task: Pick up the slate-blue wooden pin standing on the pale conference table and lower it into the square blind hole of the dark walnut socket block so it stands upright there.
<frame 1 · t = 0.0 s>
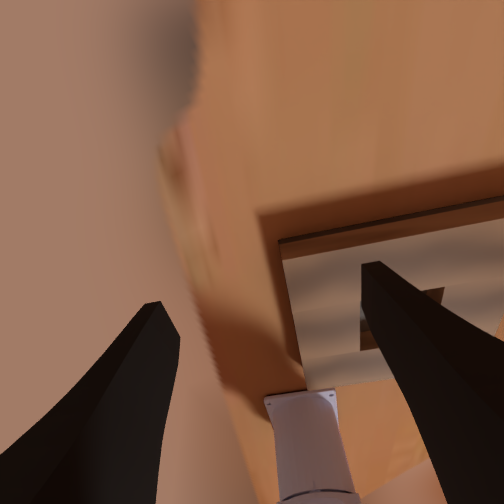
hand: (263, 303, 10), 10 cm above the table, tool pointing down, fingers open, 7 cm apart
walnut socket block: (385, 299, 25), on the table
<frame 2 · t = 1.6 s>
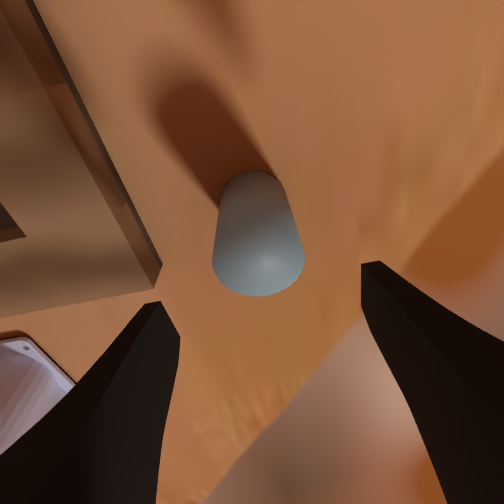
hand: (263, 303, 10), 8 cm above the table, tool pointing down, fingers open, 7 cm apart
slate pin: (253, 203, 17), on the table
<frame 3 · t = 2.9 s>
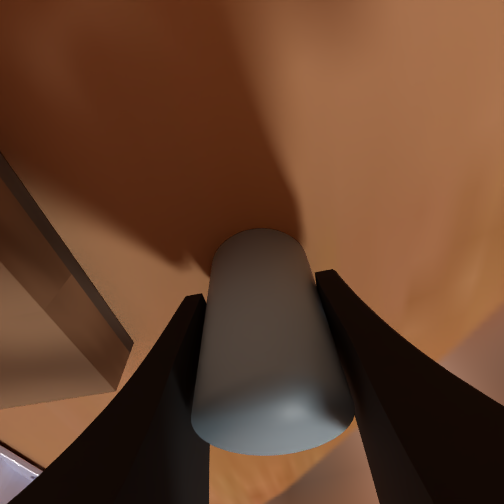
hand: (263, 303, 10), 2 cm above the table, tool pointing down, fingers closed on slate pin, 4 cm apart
slate pin: (259, 270, 12), on the table, touching gripper
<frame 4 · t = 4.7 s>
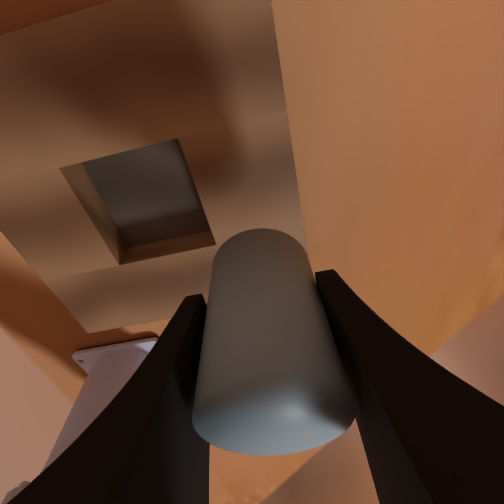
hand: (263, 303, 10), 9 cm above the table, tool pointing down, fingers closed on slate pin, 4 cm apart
slate pin: (260, 269, 12), point 7 cm above the table, touching gripper
walnut socket block: (156, 191, 17), on the table
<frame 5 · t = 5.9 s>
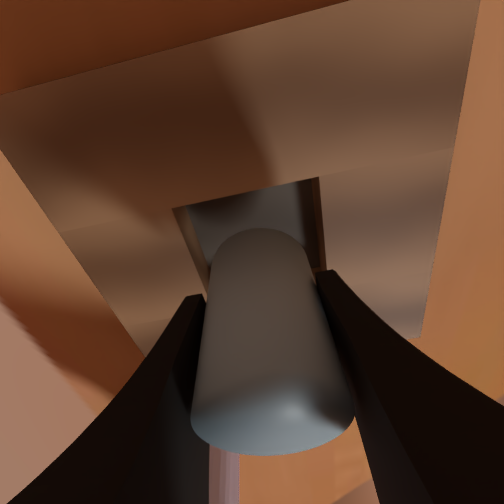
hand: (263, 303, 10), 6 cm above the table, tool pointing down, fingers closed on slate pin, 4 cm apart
slate pin: (259, 269, 12), point 4 cm above the table, touching gripper
walnut socket block: (255, 226, 15), on the table
when the fingers open (4 cm above the table, at t = 6.8 s): slate pin stays where it is, resting on walnut socket block.
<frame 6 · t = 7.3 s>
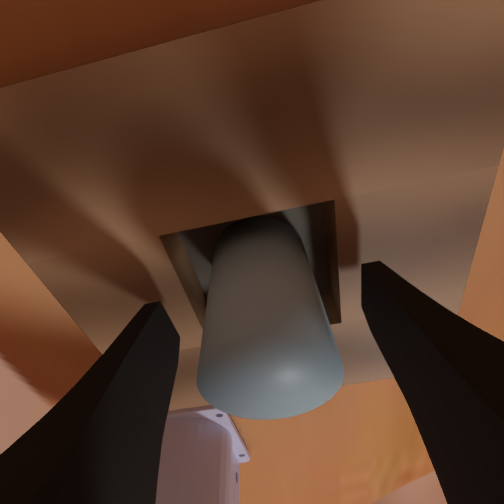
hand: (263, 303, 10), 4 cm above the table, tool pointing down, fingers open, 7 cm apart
slate pin: (259, 256, 13), point 1 cm above the table, touching walnut socket block
walnut socket block: (258, 249, 13), on the table
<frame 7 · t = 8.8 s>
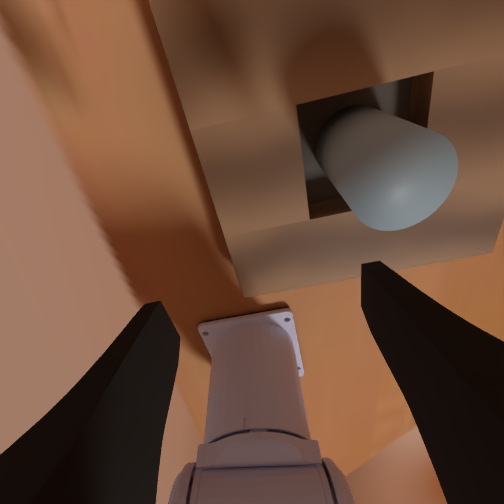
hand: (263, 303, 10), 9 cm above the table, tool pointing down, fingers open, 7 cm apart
slate pin: (351, 144, 16), point 1 cm above the table, touching walnut socket block
walnut socket block: (348, 142, 16), on the table
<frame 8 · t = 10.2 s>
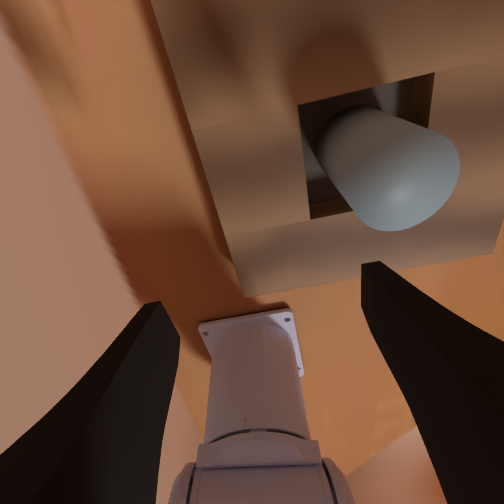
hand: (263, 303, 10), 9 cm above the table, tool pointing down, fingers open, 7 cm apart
slate pin: (352, 145, 16), point 1 cm above the table, touching walnut socket block
walnut socket block: (348, 143, 17), on the table
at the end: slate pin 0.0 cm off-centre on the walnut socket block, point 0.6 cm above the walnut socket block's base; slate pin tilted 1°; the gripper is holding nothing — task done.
